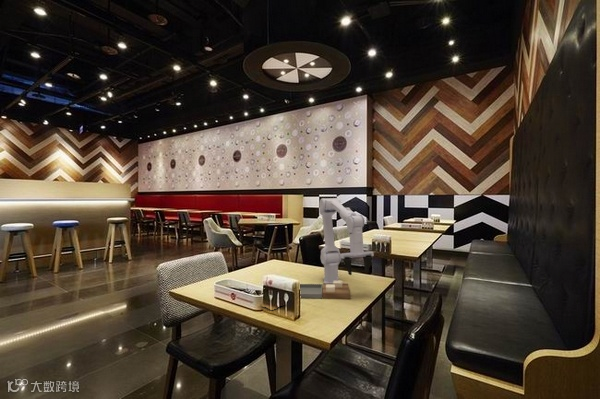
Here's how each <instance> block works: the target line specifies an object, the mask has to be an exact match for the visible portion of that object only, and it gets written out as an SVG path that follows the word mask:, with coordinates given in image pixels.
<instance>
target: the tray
mask: <svg viewBox="0 0 600 399" xmlns="http://www.w3.org/2000/svg"><path fill="white" fill-rule="evenodd" d="M299 284H300V291H301V294H300V296H301V300H302V299H305V300H306V299H307V300H308V299H309V300H310V299H312V300H323V295H322V293H323V283H299Z"/></svg>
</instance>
